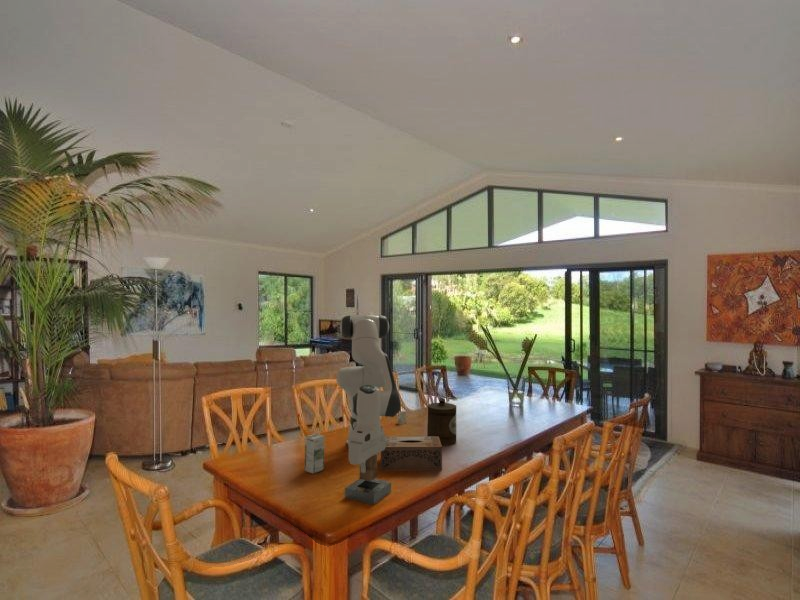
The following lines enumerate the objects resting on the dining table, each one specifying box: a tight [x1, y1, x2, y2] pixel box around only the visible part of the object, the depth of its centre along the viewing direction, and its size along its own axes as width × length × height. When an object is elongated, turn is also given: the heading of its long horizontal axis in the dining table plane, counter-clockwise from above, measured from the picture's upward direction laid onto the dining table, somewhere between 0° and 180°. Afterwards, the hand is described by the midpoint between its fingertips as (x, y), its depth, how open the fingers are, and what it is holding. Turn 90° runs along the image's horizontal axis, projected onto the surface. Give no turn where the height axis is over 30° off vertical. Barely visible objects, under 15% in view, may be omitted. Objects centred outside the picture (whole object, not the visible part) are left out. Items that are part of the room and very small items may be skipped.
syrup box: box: [304, 433, 325, 474], centre depth 180 cm, size 6×6×14 cm
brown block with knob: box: [359, 455, 378, 481], centre depth 157 cm, size 5×5×9 cm
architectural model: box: [395, 410, 407, 425], centre depth 254 cm, size 3×7×7 cm, turn 145°
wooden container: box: [426, 397, 457, 447], centre depth 220 cm, size 15×15×22 cm
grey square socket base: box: [344, 477, 392, 506], centre depth 157 cm, size 12×12×4 cm
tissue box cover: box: [380, 435, 443, 471], centre depth 188 cm, size 26×14×10 cm, turn 91°
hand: (368, 469), depth 157 cm, fingers closed on brown block with knob, 5 cm apart
